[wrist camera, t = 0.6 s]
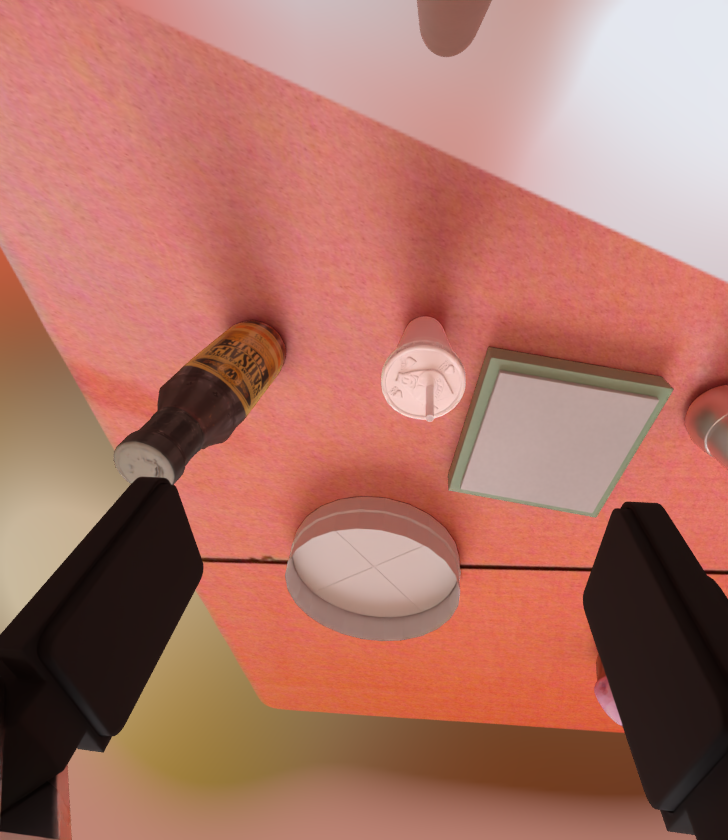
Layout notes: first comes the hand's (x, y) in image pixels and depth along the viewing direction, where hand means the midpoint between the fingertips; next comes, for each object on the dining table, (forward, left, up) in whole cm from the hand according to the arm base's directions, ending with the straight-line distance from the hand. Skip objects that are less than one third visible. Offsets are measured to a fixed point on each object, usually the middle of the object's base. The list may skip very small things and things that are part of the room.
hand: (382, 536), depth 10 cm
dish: (+40, +2, -32) cm, 52 cm away
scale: (+16, +16, -32) cm, 39 cm away
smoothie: (+8, +2, -32) cm, 33 cm away
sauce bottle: (+12, -14, -32) cm, 37 cm away
